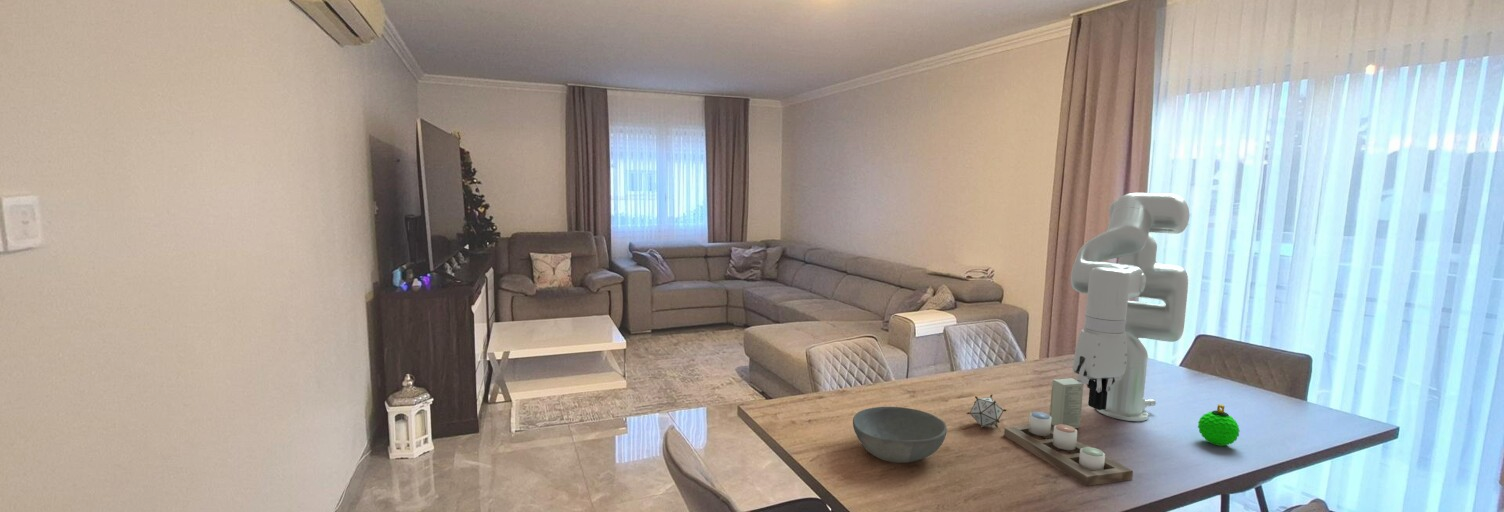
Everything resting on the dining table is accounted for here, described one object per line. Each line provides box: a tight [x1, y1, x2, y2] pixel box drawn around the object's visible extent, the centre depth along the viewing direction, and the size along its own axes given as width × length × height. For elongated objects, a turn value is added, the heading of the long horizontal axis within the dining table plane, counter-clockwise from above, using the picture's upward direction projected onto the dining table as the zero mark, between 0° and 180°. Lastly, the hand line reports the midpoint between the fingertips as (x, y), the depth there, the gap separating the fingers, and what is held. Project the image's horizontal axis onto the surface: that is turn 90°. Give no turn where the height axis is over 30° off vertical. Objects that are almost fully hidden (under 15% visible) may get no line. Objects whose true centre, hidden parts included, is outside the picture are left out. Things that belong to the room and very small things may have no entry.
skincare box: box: [1049, 377, 1085, 429], centre depth 159 cm, size 6×4×12 cm
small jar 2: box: [1053, 424, 1078, 451], centre depth 141 cm, size 5×5×4 cm
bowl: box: [852, 406, 948, 464], centre depth 139 cm, size 21×21×8 cm
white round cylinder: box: [1079, 446, 1106, 471], centre depth 133 cm, size 5×5×4 cm
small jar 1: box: [1028, 411, 1052, 437], centre depth 148 cm, size 5×5×4 cm
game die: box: [966, 393, 1008, 431], centre depth 157 cm, size 9×8×10 cm
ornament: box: [1197, 404, 1241, 447], centre depth 149 cm, size 8×8×10 cm
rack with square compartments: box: [1003, 424, 1134, 487], centre depth 141 cm, size 12×26×2 cm, turn 15°
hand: (1096, 407), depth 132 cm, fingers closed
